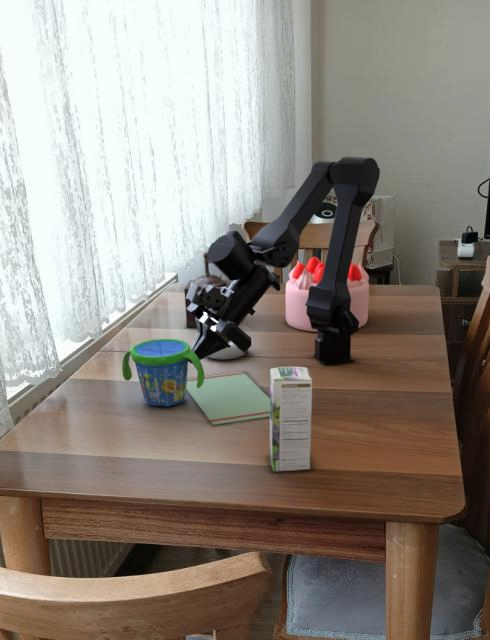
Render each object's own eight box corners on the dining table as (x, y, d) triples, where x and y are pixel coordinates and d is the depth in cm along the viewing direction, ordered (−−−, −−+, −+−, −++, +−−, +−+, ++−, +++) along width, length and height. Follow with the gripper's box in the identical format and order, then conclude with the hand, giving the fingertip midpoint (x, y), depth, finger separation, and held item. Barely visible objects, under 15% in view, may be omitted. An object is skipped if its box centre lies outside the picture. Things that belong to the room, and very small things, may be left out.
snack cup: (216, 395, 144) (212, 342, 139) (187, 417, 136) (181, 361, 131) (146, 385, 150) (140, 334, 146) (114, 405, 142) (106, 351, 137)
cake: (278, 331, 181) (278, 269, 175) (293, 309, 198) (293, 252, 192) (363, 335, 177) (365, 271, 171) (371, 312, 194) (373, 253, 188)
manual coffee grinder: (231, 327, 185) (229, 250, 177) (185, 328, 185) (180, 250, 177) (237, 310, 199) (234, 238, 190) (194, 311, 199) (189, 238, 191)
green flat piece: (242, 372, 156) (242, 371, 156) (284, 414, 136) (284, 413, 136) (179, 380, 153) (179, 379, 153) (213, 425, 132) (212, 424, 132)
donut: (196, 361, 164) (243, 362, 162) (195, 345, 162) (242, 346, 160) (208, 347, 172) (252, 347, 170) (207, 331, 171) (252, 332, 169)
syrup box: (268, 456, 121) (267, 367, 114) (306, 454, 121) (307, 365, 115) (272, 472, 116) (271, 380, 109) (312, 470, 116) (313, 378, 110)
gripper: (194, 256, 143) (141, 322, 145) (232, 275, 128) (173, 349, 129) (235, 294, 150) (184, 357, 151) (276, 317, 134) (219, 387, 136)
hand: (189, 361), depth 141 cm, fingers closed
